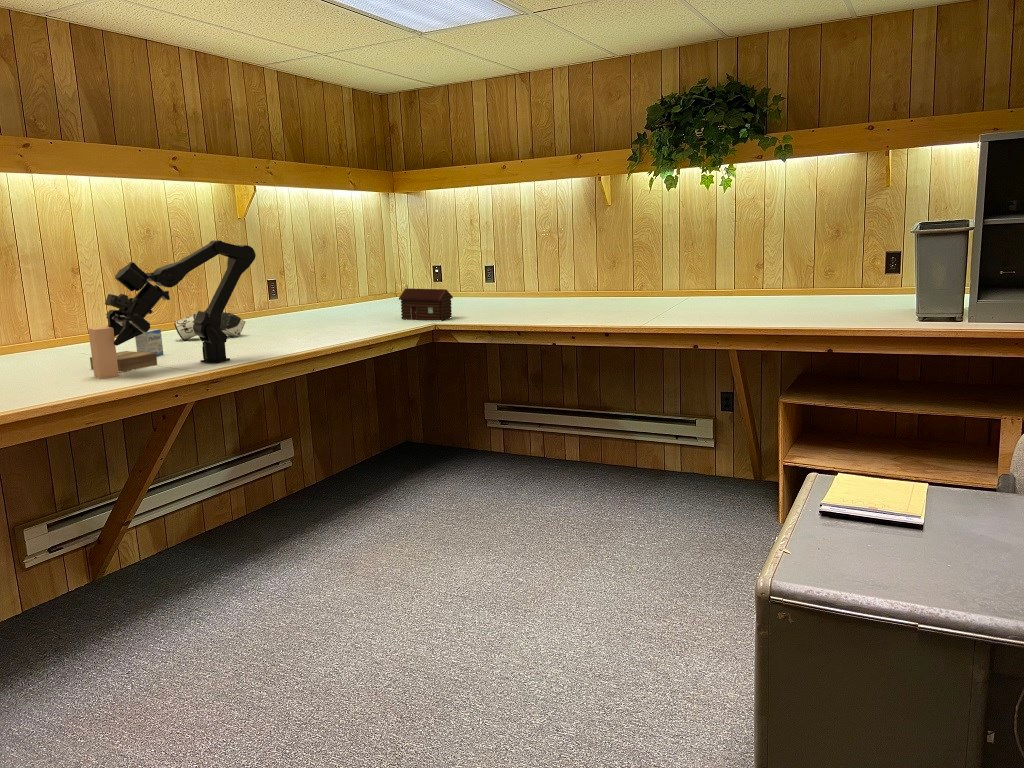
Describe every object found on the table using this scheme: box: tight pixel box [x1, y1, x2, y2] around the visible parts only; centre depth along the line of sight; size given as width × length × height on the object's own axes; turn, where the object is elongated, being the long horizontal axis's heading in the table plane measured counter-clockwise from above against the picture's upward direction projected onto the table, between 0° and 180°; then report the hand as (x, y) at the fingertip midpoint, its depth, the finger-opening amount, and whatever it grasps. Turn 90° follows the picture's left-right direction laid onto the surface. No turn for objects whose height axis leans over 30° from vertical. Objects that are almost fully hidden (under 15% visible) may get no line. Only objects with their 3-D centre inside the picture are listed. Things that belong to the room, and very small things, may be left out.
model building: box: [398, 284, 454, 321], centre depth 348 cm, size 21×12×15 cm, turn 67°
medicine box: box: [134, 328, 164, 357], centre depth 260 cm, size 8×4×9 cm, turn 170°
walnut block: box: [89, 350, 158, 373], centre depth 242 cm, size 13×13×4 cm
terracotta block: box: [87, 325, 120, 379], centre depth 226 cm, size 5×5×14 cm
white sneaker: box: [174, 311, 246, 341], centre depth 299 cm, size 25×10×10 cm, turn 119°
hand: (108, 343), depth 227 cm, fingers open, 9 cm apart
